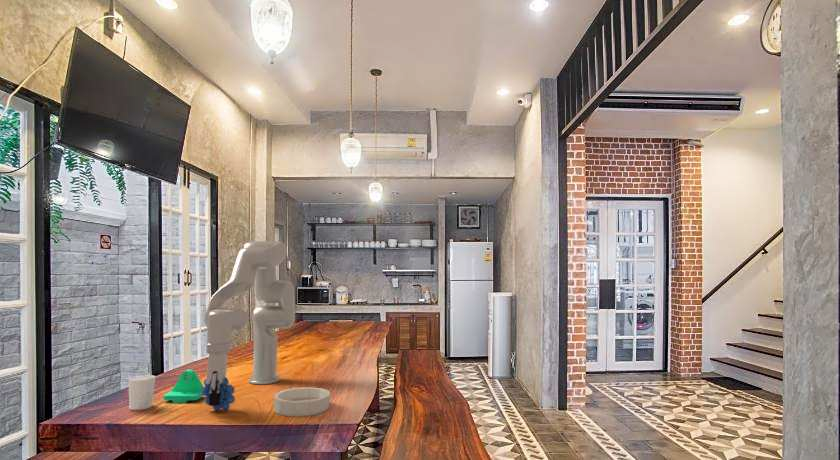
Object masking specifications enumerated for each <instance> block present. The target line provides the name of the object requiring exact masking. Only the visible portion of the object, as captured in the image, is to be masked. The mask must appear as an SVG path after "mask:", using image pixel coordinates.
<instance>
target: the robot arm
mask: <svg viewBox="0 0 840 460" xmlns="http://www.w3.org/2000/svg"><path fill="white" fill-rule="evenodd" d="M287 254H288V248H287V246H286V244H285V243H284V242H282V241H264V240H263V241H262V240H257V241H255V240H254V241H248V242H246V243H245V244H244V245H243V248H241V249H240V250H239V252H238V253H237V256H236V259H235V262H234V265H233V269H232V271H231V274H230V277H229V280H228V281H227V282H226V283H225V284H224V285H222V286H221V287H219V288H218V290H216V292H214V293H213V294H212V296H211V298H210V299H209V302H208V304H207V307H206V310H205V315H204V325H205V327H206V328H207V330H206V332H207V333H206V334H207V335H206V354H207V355H208V358H207V367H206V378H205V379H206V384H207V385H209V384H210V382H211V387H210V395H209V405H208V406H209V407H212V406H217V405H220V393H219V390H220V384H221V383H222V382H223V380H224V377H226V378H227V370H228V368H227V367H228V353H231V350H232V349H231V348H232V347H231V346H232V345H231V344H232V343H231V341H232V331H240V330H242V329H243V328H245V327H246V325H248V324H247V323H248V320H249V316H248V313H247V312H246V311H245V310H244V309H242V308H228V307H227V308H225V307H224V308H223V307H222V306H223V305H224V304H226V302H227V301H228V300H230V299H232V298H234V297H236V296H238V295H241V294H243V293H246V292H248V291H250V290H251V289H252V288H253V287H254V286H255V298H256V300H257V301H258V302H260V303H266V305H259V306H257V307H255V308H254V310H253V312H252V316H251V317H252V325H253V357H252V359H253V361H252V362H253V364H252V368H253V369H252V376H251V377H249V378H248V383H250V384H253V385H269V384H275V383H277V382H279V381H280V380H281V376H279V375H277V369H278V366H277V365H278V362H277V361H278V336H277V334H276V332H275V331H274V329H290V328H292V327H293V326H294V324H295V320H296V304H295V303H296V298H295V295H296V294H295V286H294V284H293V283H292V282H291V281H289V280H279V279H277V269H276V267H277V266H279V265H280V264H282V263H283V262H284V261H285V259H286V257H287ZM254 282H255V284H254ZM267 303H268V304H269V305H267ZM270 304H275V305H270ZM276 304H281V305H276ZM216 382H219V383H216ZM217 386H218V388H217Z"/></svg>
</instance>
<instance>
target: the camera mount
mask: <svg viewBox="0 0 840 460" xmlns="http://www.w3.org/2000/svg"><path fill="white" fill-rule="evenodd" d="M203 387H205V385H204V384H203V383H202V381H201V380H200V378H199V376H198V374H197V372H196V371H195V370H194V369H192V368H190V369H187V370H185V371H183V372H181V373H180V375H179V379H178V380H177V382H176V383H175V384H174V386H173V388H172V389H171V390H170V391H169V392H167V393H165V394H164V395H163V401H172V404H173V403H174V404H187V403H188V402H189V401H198V400H199V399H201V398H202V397H205V396H204V395H203V394H202V392H201V389H202V388H203Z"/></svg>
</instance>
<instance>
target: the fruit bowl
mask: <svg viewBox="0 0 840 460" xmlns="http://www.w3.org/2000/svg"><path fill="white" fill-rule="evenodd" d="M273 398H274V399H273V411H274V413H275V414H276V415H279V416H283V417H290V418H299V417H300V418H302V417H312V416H316V415H319V414H323V413H325V412H327V411H328V410H329V409H330V405H331V404H330V403H331V401H330V400H331V399H330V398H331V394H330V391H329V390H327V389H325V388H320V387H319V388H318V387H307V386H306V387H295V388H288V389H284V390H281V391H279V392H277V393H275V394H274V397H273Z"/></svg>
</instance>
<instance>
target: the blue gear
mask: <svg viewBox="0 0 840 460" xmlns="http://www.w3.org/2000/svg"><path fill="white" fill-rule="evenodd" d="M216 383H219V382H216ZM203 386H204V387H203V388H202V389H201V392H202V394H203V395H204V396H203V397H205V398H204V402H205V404H206V405H208V406H209V395H210V387H211V382H210V384H209V385H207V384H206V378H204V381H203ZM217 388H218V386H217ZM235 391H236V390H235V386H233V385H232V384H229V379H228V378H227V376H226V377H224V380H223V382H222V383H221V384H220V390H219V393H220V405H217V406H211V407H212V410H214V411H216V412H218V411H220V410H221V409H222V410H223V411H227V410H229V409H230V407H231V405H232V404H234V402H235V401H236V397H235V396H234V395H233V394H234V392H235ZM230 404H231V405H230Z"/></svg>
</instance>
